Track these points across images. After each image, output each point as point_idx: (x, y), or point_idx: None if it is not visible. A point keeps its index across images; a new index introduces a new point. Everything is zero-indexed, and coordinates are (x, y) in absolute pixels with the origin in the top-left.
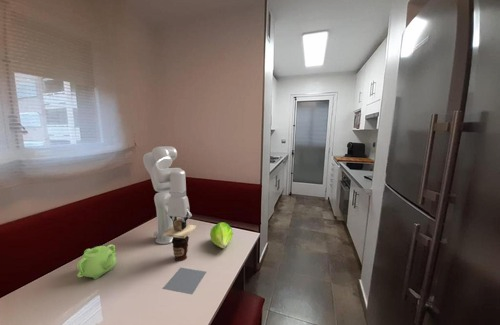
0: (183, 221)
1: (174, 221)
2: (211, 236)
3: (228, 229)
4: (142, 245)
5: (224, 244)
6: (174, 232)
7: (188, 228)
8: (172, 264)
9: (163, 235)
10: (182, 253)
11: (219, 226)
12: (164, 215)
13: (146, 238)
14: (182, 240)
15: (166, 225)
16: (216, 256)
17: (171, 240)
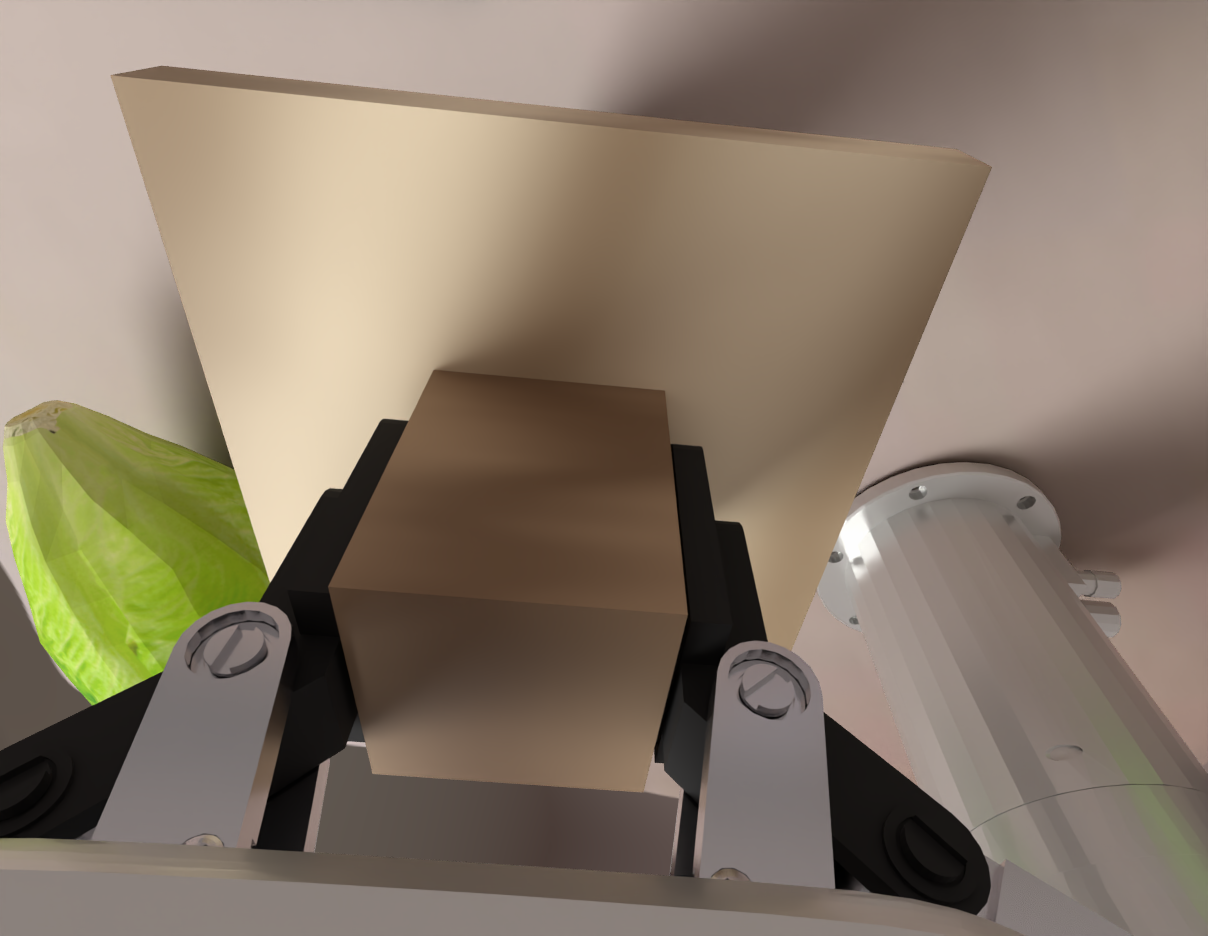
0: (247, 636)
1: (660, 616)
2: None
3: (70, 676)
4: (1201, 425)
5: (5, 432)
6: (603, 287)
7: None
8: (652, 80)
9: (930, 147)
10: None
11: None
12: (1121, 864)
13: (1176, 546)
14: None
15: (993, 684)
16: (189, 326)
17: (854, 526)
